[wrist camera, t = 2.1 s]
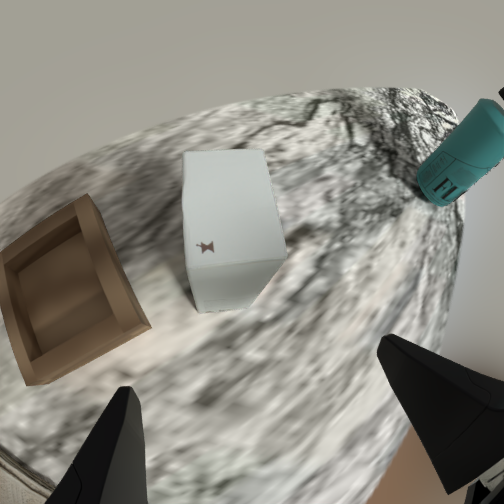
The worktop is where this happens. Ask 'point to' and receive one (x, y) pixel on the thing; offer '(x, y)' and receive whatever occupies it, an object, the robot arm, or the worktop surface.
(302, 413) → the worktop surface
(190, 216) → the skincare box
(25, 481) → the washcloth
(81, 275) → the walnut holder
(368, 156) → the worktop surface
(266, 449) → the worktop surface
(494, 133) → the beverage bottle
